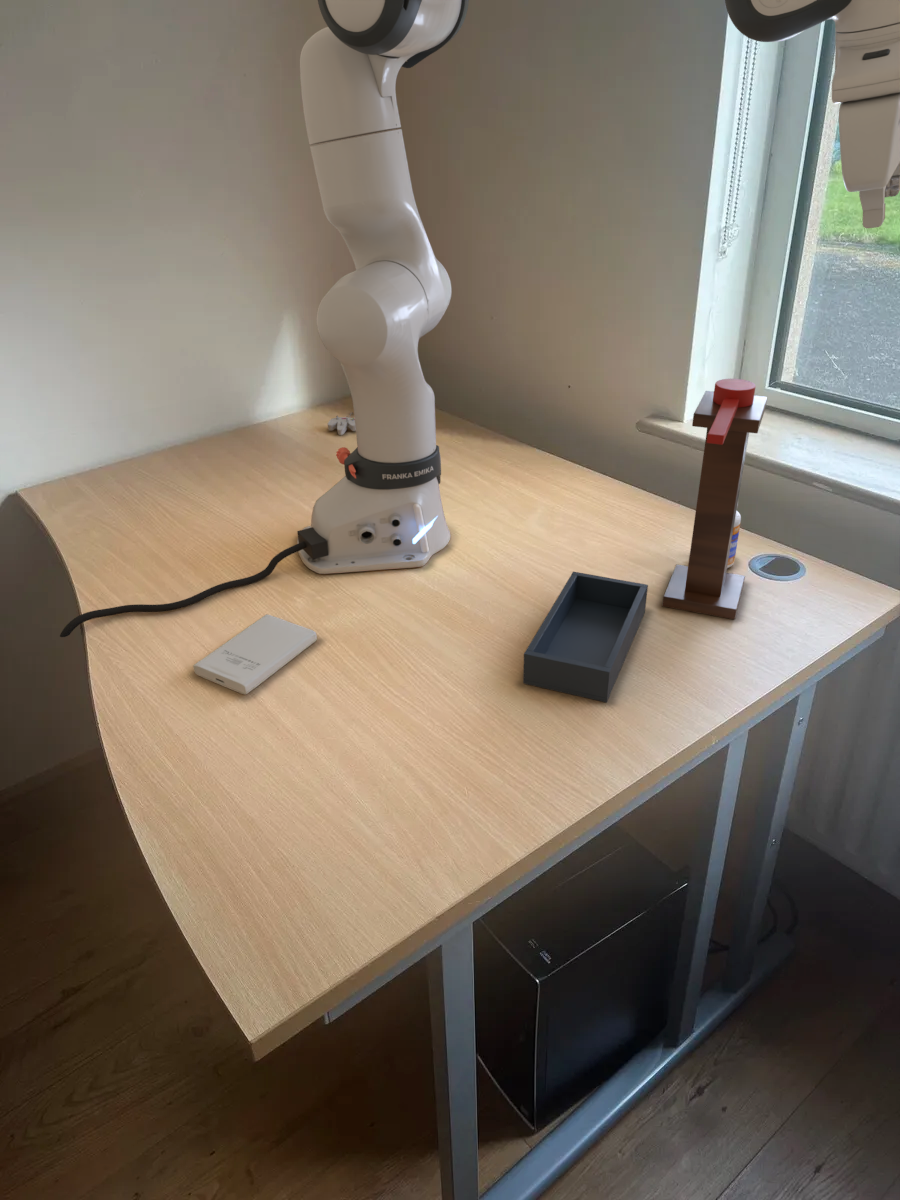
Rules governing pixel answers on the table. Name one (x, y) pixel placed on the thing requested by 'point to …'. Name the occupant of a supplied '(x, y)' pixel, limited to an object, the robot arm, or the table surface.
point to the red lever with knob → (729, 405)
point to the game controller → (342, 424)
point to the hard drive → (255, 654)
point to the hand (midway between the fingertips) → (882, 209)
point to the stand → (715, 517)
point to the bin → (586, 636)
